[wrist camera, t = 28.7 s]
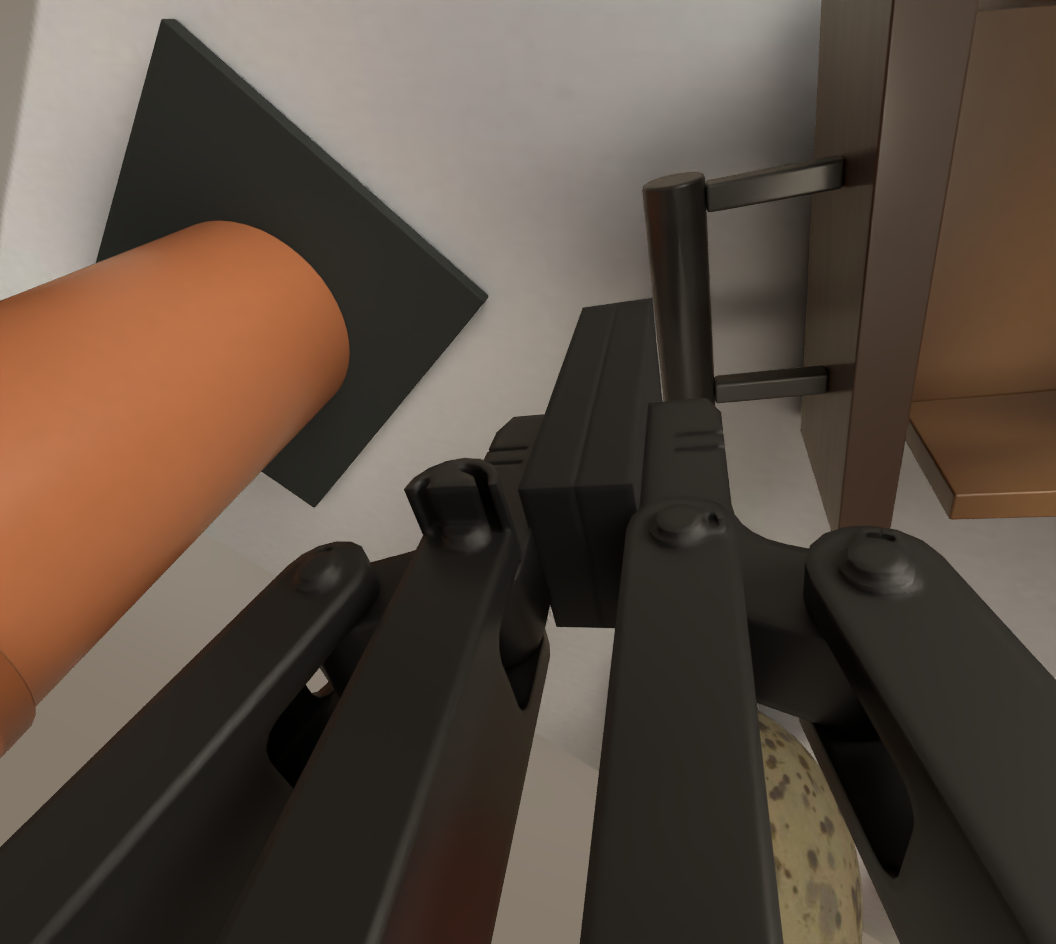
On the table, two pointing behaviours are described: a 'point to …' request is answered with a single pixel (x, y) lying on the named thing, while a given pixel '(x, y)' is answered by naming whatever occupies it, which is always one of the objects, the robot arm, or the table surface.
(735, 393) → the drawer
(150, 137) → the mat
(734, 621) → the robot arm
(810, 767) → the decorative egg
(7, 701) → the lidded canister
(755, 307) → the table surface
